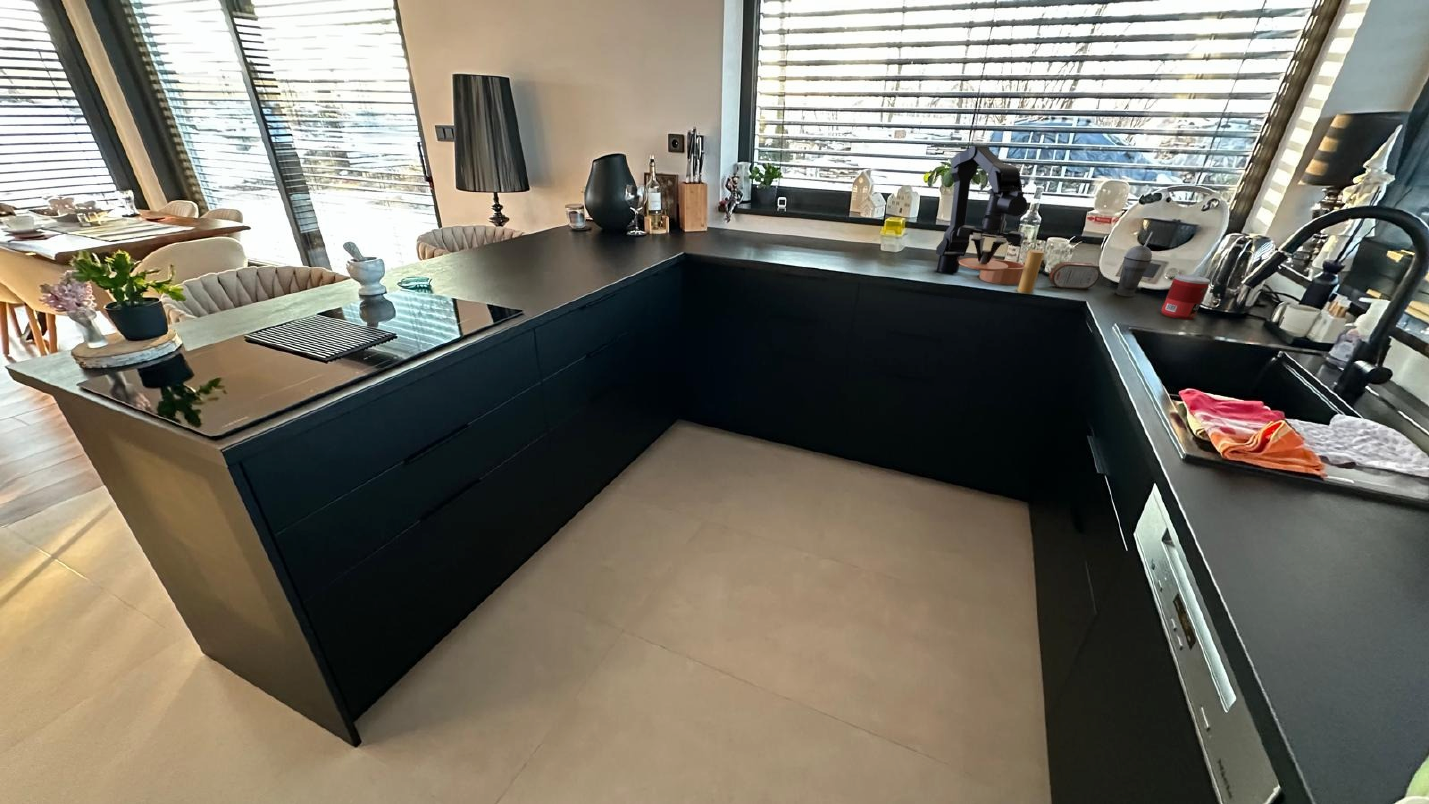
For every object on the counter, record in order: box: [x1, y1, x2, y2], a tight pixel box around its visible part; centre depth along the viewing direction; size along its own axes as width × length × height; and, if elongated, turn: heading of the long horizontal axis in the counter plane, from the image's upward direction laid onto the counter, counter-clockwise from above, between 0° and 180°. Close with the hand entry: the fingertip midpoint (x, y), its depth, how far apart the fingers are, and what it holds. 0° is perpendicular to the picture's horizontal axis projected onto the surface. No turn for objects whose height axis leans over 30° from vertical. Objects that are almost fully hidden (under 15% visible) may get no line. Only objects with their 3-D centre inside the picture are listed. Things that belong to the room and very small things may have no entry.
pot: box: [978, 258, 1025, 286], centre depth 193 cm, size 14×14×6 cm
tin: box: [1048, 261, 1101, 290], centre depth 184 cm, size 15×3×8 cm, turn 84°
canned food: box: [1161, 274, 1211, 320], centre depth 159 cm, size 8×8×11 cm
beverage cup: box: [1116, 231, 1154, 298], centre depth 176 cm, size 7×7×20 cm
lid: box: [959, 249, 1008, 271], centre depth 178 cm, size 15×15×5 cm
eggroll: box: [1017, 249, 1045, 295], centre depth 178 cm, size 4×4×13 cm
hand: (983, 261), depth 179 cm, fingers closed on lid, 2 cm apart
